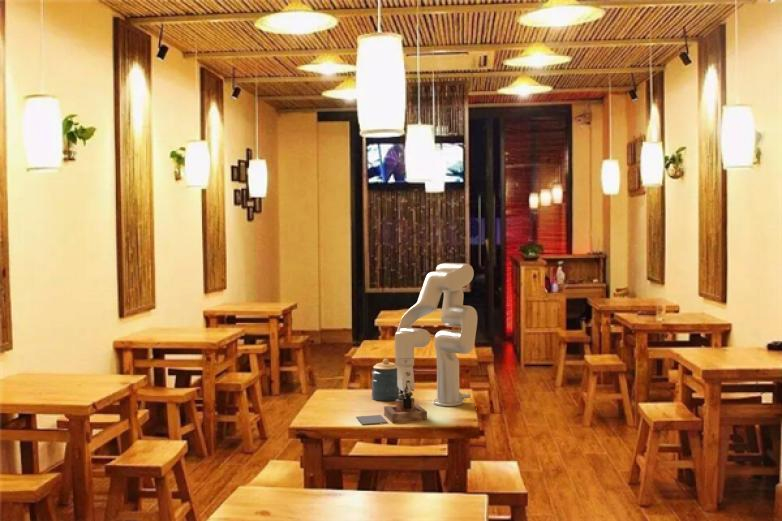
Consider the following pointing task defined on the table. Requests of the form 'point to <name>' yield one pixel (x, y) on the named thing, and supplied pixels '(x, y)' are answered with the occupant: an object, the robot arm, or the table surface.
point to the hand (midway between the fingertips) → (405, 406)
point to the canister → (385, 381)
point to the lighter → (400, 404)
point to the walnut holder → (405, 414)
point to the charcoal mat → (371, 419)
